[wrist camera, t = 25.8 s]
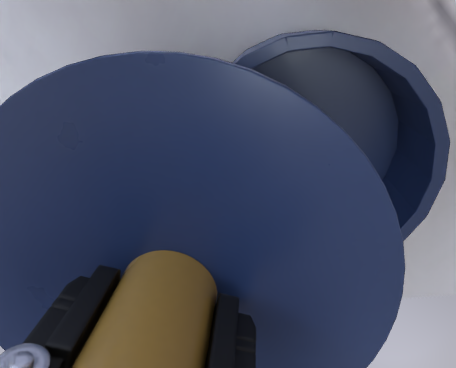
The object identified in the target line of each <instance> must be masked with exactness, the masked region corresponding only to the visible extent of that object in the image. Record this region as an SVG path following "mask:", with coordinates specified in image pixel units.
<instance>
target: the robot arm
mask: <svg viewBox="0 0 456 368" xmlns="http://www.w3.org/2000/svg"><path fill="white" fill-rule="evenodd" d="M120 275H121V270H120V269H116V268H112V267H108V266H103V265H99V266H98V267H97V268H96V270H95V271H94V273H93V274H92V276H91V277H90V278H88V277H84V276H79V277H78V278H76V279H74V280H73V281H71V282H70V283H68V284H67V285H66V286H65V288H64V289H63V290H62V292H61V293H60V294H59V297H57V298H56V300H55V301H54V302H53V304H52V306H51V307H50V308H49V309H48V310H47V312H46V313H45V314H44V316H43V317H42V318H41V320H40V321H39V322H38V324H37V325H36V326H35V328H34V329H33V330H32V331H31V333H30V334H29V335H28V337H27V338H26V339H25V341H24V342H23V343H22V344H19V345H16V346H13V347H11V348H9V349H7V350H6V351H4V352H3V353H2V354H1V355H0V368H71V367H72V365H73V363H74V361H75V359H76V358H77V356H78V354H79V352H80V350H81V349H82V347H83V345H84V343H85V341H86V340H87V338H88V336H89V334H90V332H91V331H92V329H93V327H94V325H95V324H96V322H97V320H98V318H99V316H100V315H101V313H102V311H103V309H104V307H105V306H106V304H107V302H108V300H109V298H110V297H111V295H112V293H113V291H114V289H115V288H116V286H117V284H118V282H119V280H120ZM238 310H239V297H236V296H232V295H227V294H223V293H219V296H218V300H217V304H216V307H215V314H214V320H213V326H212V332H211V339H210V345H209V351H208V357H207V364H206V368H256V326H255V324H254V322H253V319H252V317H251V315H247V314H242V313H238Z"/></svg>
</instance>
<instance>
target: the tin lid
mask: <svg viewBox="0 0 456 368" xmlns="http://www.w3.org/2000/svg"><path fill="white" fill-rule="evenodd" d="M99 265H103V266H108V267H112V268H116V269H120V270H121V275H120V280H119V282H118V284H117V286H116V288H115V289H114V291H113V293H112V295H111V297H110V298H109V300H108V302H107V304H106V306H105V307H104V309H103V311H102V313H101V315H100V316H99V318H98V320H97V322H96V324H95V325H94V327H93V329H92V331H91V332H90V334H89V336H88V338H87V340H86V341H85V343H84V345H83V347H82V349H81V350H80V352H79V354H78V356H77V358H76V359H75V361H74V363H73V365H72V367H71V368H206V364H207V357H208V351H209V345H210V339H211V332H212V326H213V320H214V314H215V307H216V304H217V300H218V296H219V293H223V294H227V295H232V296H236V297H239V310H238V313H242V314H247V315H251V317H252V319H253V322H254V324H255V326H256V368H367V367H368V365H369V364H370V363H371V362H372V361H373V360H374V358H375V357H376V355H377V354H378V352H379V350H380V349H381V347H382V346H383V344H384V342H385V341H386V340H387V337H388V335H389V333H390V330H391V329H392V326H393V324H394V322H395V320H396V317H397V313H398V309H399V306H400V301H401V298H402V294H403V284H404V274H405V259H404V246H403V238H402V234H401V230H400V226H399V222H398V217H397V213H396V211H395V208H394V206H393V204H392V201H391V199H390V197H389V194H388V192H387V189H386V187H385V185H384V183H383V182H382V180H381V178H380V177H379V175H378V173H377V172H376V170H375V169H374V167H373V165H372V164H371V162H370V161H369V159H368V157H367V156H366V155H365V154H364V153H363V151H362V150H361V149H360V148H359V147H358V146H357V144H356V143H355V142H354V141H353V140H352V139H351V137H350V136H349V135H348V134H347V133H346V132H345V130H344V129H343V128H342V127H341V126H340V125H338V124H337V123H336V122H335V121H334V120H333V119H332V118H330V117H329V116H328V115H327V114H326V113H325V112H324V111H322V110H321V109H320V108H319V107H318V106H317V105H315V104H314V103H312V102H311V101H309V100H308V99H306V98H305V97H303V96H302V95H300V94H299V93H297V92H295V91H294V90H292V89H291V88H289V87H288V86H286V85H284V84H282V83H280V82H278V81H276V80H274V79H272V78H269V77H267V76H265V75H263V74H261V73H259V72H257V71H255V70H252V69H250V68H246V67H243V66H240V65H237V64H234V63H230V62H227V61H224V60H221V59H218V58H213V57H207V56H201V55H195V54H189V53H183V52H169V51H136V52H127V53H119V54H110V55H103V56H99V57H95V58H92V59H88V60H84V61H81V62H77V63H73V64H70V65H66V66H64V67H62V68H60V69H58V70H55V71H53V72H51V73H49V74H46V75H44V76H42V77H40V78H38V79H36V80H34V81H33V82H31V83H30V84H28V85H27V86H25V87H24V88H22V89H21V90H19V91H18V92H16V93H15V94H13V95H12V96H10V97H9V98H8V99H7V100H6V101H5V102H4V103H3V104H2V105H1V106H0V346H1V347H2V348H3V349H4V350H5V351H6V350H7V349H9V348H11V347H13V346H16V345H19V344H22V343H23V342H24V341H25V339H26V338H27V337H28V335H29V334H30V333H31V331H32V330H33V329H34V328H35V326H36V325H37V324H38V322H39V321H40V320H41V318H42V317H43V316H44V314H45V313H46V312H47V310H48V309H49V308H50V307H51V306H52V304H53V302H54V301H55V300H56V298H57V297H59V294H60V293H61V292H62V290H63V289H64V288H65V286H66V285H67V284H68V283H70V282H71V281H73V280H74V279H76V278H78V277H79V276H84V277H88V278H90V277H91V276H92V274H93V273H94V271H95V270H96V268H97V267H98V266H99Z"/></svg>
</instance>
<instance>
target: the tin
mask: <svg viewBox="0 0 456 368" xmlns="http://www.w3.org/2000/svg"><path fill="white" fill-rule="evenodd" d="M233 63H234V64H237V65H240V66H243V67H246V68H250V69H252V70H255V71H257V72H259V73H261V74H263V75H265V76H267V77H269V78H272V79H274V80H276V81H278V82H280V83H282V84H284V85H286V86H288V87H289V88H291V89H292V90H294V91H295V92H297V93H299V94H300V95H302V96H303V97H305V98H306V99H308V100H309V101H311V102H312V103H314V104H315V105H317V106H318V107H319V108H320V109H321V110H322V111H324V112H325V113H326V114H327V115H328V116H329V117H330V118H332V119H333V120H334V121H335V122H336V123H337V124H338V125H340V126H341V127H342V128H343V129H344V130H345V132H346V133H347V134H348V135H349V136H350V137H351V139H352V140H353V141H354V142H355V143H356V144H357V146H358V147H359V148H360V149H361V150H362V151H363V153H364V154H365V155H366V156H367V157H368V159H369V161H370V162H371V164H372V165H373V167H374V169H375V170H376V172H377V173H378V175H379V177H380V178H381V180H382V182H383V183H384V185H385V187H386V189H387V192H388V194H389V197H390V199H391V201H392V204H393V206H394V208H395V211H396V213H397V217H398V222H399V226H400V230H401V234H402V238H403V241H404V240H405V239H406V238H407V237H408V236H409V235H410V234H411V233H412V232H413V230H414V229H415V228H416V227H417V226H418V225H419V224H420V223H421V222H422V221H423V220H424V219H425V218H426V216H427V215H428V213H429V211H430V209H431V207H432V205H433V203H434V201H435V199H436V197H437V195H438V193H439V191H440V189H441V187H442V185H443V183H444V181H445V176H446V168H447V161H448V154H449V147H450V139H449V134H448V130H447V125H446V121H445V117H444V112H443V108H442V103H441V102H440V99H439V98H438V96H437V95H436V94H435V92H434V91H433V89H432V88H431V86H430V85H429V83H428V82H427V81H426V79H425V78H424V76H423V75H422V73H421V72H420V70H419V69H418V68H417V67H416V65H414V64H413V63H411V62H410V61H408V60H407V59H405V58H404V57H402V56H401V55H399V54H398V53H396V52H395V51H393V50H392V49H390V48H389V47H387V46H386V45H384V44H383V43H381V42H379V41H376V40H372V39H367V38H363V37H359V36H354V35H350V34H346V33H341V32H337V31H326V30H311V31H303V32H294V33H285V34H280V35H277V36H275V37H273V38H270V39H268V40H266V41H264V42H261V43H259V44H258V45H255V46H253V47H251V48H249V49H247V50H246V51H244V52H243V53H242V54H241V55H240V56H239V57H238V58H237V59H236V60H235V61H234V62H233Z"/></svg>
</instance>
